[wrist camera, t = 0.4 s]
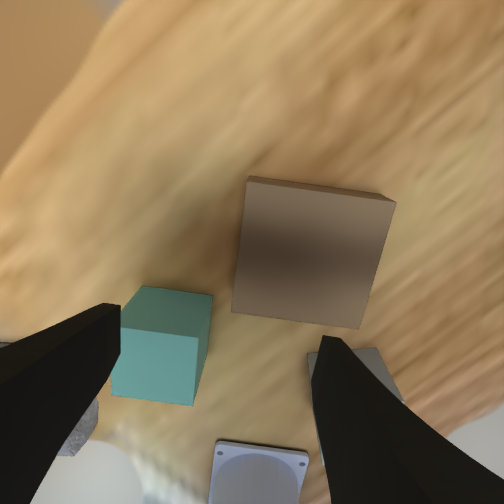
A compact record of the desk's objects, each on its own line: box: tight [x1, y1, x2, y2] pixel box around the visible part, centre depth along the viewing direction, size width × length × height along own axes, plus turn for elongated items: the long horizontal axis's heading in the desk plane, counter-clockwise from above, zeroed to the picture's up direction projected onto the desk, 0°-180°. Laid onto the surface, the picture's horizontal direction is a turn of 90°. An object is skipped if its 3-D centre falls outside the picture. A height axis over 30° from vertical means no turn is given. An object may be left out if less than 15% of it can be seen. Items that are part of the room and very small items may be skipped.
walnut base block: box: [231, 176, 397, 330], centre depth 19 cm, size 8×8×3 cm
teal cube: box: [111, 286, 213, 406], centre depth 20 cm, size 5×5×5 cm
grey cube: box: [307, 348, 404, 466], centre depth 22 cm, size 5×5×5 cm
